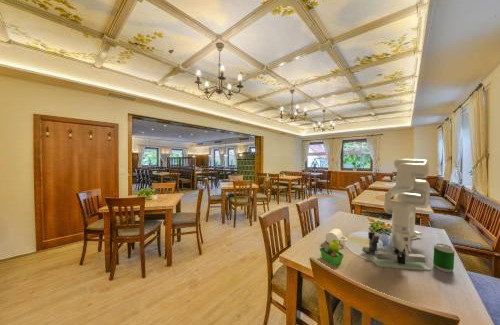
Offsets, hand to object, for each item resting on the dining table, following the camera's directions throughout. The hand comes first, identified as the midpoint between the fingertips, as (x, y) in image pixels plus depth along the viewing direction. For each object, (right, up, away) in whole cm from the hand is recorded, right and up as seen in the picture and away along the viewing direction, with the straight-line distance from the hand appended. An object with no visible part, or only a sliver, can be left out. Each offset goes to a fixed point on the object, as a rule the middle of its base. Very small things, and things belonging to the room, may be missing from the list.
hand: (399, 261), depth 106 cm
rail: (0, +1, 0) cm, 1 cm away
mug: (-22, -1, +25) cm, 33 cm away
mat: (0, -2, 0) cm, 2 cm away
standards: (+2, -1, +12) cm, 12 cm away
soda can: (+20, -2, -4) cm, 20 cm away
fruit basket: (-35, -2, +4) cm, 35 cm away
